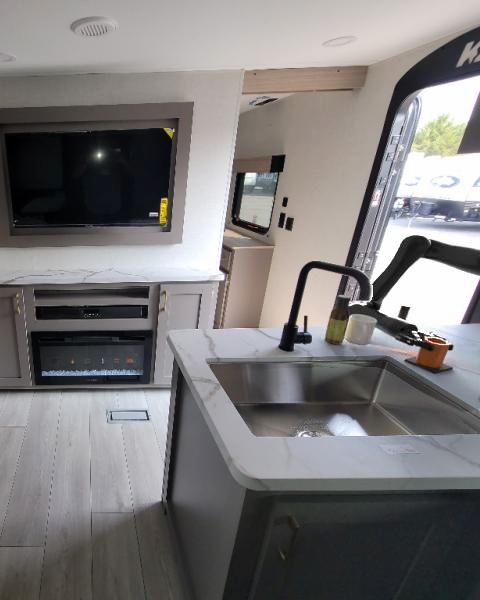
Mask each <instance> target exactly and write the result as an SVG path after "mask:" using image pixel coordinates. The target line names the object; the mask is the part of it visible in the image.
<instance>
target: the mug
mask: <svg viewBox="0 0 480 600" xmlns="http://www.w3.org/2000/svg"><path fill="white" fill-rule="evenodd" d="M376 322H377V320H376V319H375V318H373V317H370V316H366V315H360V314H353V315H351V316H350V317H349V321H348V325H347V329H346V333H345V337H344V338H345V340H346V341H347V342H349V343H350V344H355V345H359V346H367V345H370V343H371V341H372V338H373V335H374V332H375V329H376V328H375V326H376Z"/></svg>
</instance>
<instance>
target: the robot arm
mask: <svg viewBox="0 0 480 600" xmlns="http://www.w3.org/2000/svg"><path fill="white" fill-rule="evenodd" d="M395 249H396V251H395V253H394V254H393V257H392V258H391V260H390V262H389V263H388V265H387V266H386V267H385V268H384V269H383V270H382V271H381V272H380V273H379V274H378V275H377V276H376V277H375V279H374V280H373V281H372V282H371V283H372V285H373V297H372V300H371V301H370V302H367V301H366V303H365V304H364V303H363V302H353V303H351V304H349V305H348V309H349V315H350V316H351V315H353V314H360V315H366V316H370V317H373V318H375V319H376V320H377V322H376V326H375V329H377V330H379V331H381V332H383V333H384V334H386V335H388V336H390V337H392V338H394V340H396V341H398V342H401V343H403V344H405V345H407V346H410V347H418V348H420V347H422V348H424V349H426V350H428V351H433V350H434V346H433V345H431V344H429V343H427V342H424V341H423V339H424V337H435V338H440V339H443V340H445V341H447V338H446V337H445V336H442V335H440V334H437V333H436V332H434V331H429V332H428V333H427V332H425V331H422V330H419V328H418V326H417V325H416V324H415V323H412V322H409V321H407V320H406V321H405V320H403V319H400V318H398V316H394V315H391V314H389V313H387V312H384V311H381V308H382V306H383V303H384V300H385V299H386V298H387V297H388V296H389V294H390V293H391V292H392V290H393V289H394V288H395V287H396V285H397V284H398V283H399V281H400V280H401V279H402V278H403V276H404V275H405V274H406V273H407V272H408V270H409V269H410V268H411V267H412V266H413V265H415V264H416V262H418V261H419V260H420V259H423V260H427V261H432V262H435V263H439V264H442V265H444V266H446V267H449V268H451V269H454V270H456V271H458V272H462V273H466V274H467V275H471V276H474V277H478V278H480V249H479V248H475V247H469V246H463V245H455V244H451V243H445V242H442V241H439V240H436V239H432V238H430V237H427V236H425V235H423V234H421V233H409V234H406V235H403V236H401V237H400V238H399V239H397V241H396V244H395ZM454 347H455V346H454V344H452V343H450V346H449V349H448V351H450V352H451V351H453V350H454Z"/></svg>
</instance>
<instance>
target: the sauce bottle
mask: <svg viewBox="0 0 480 600" xmlns="http://www.w3.org/2000/svg"><path fill="white" fill-rule="evenodd" d="M350 301H351V296H349V295H347V294H339V295H337V301H336V304H335V307H333V308H332V309H331V311H330V315H329V317H328V321H327V326H326V329H325V330H326V331H325V333H324V334H325V335H324V341H326V342H327V343H329V344H334V345H341V344H343V343H344V340H345V338H346V337H345V333H346V330H347V327H348V323H349V320H350V315H349V309H348V306H349V305H350Z"/></svg>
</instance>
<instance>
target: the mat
mask: <svg viewBox="0 0 480 600" xmlns="http://www.w3.org/2000/svg"><path fill="white" fill-rule="evenodd" d="M416 357H417V355H416V356H412V357H407V358H404V362H406V363H408V364H411V365H413V366H415V367H418V368H420V369H422V370H425V371H427V372H429V373H432V374H434V375H436V374H440V373H444V372H447V371H451V370H453V368H454V367H453V366H451V365H448V364H446V363H444V362H443V363H442V366H441V367H439V368H433V367H429V366H425V365H422V364H420V363H418V362H416Z"/></svg>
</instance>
